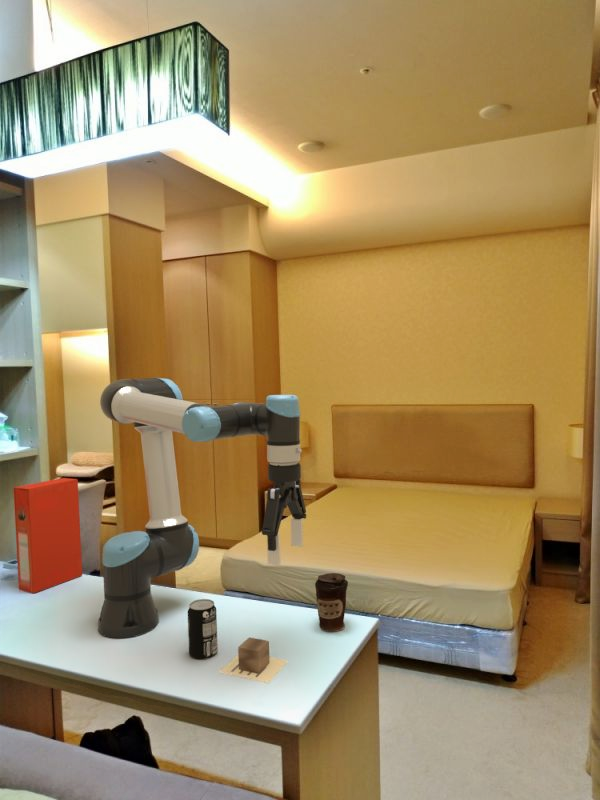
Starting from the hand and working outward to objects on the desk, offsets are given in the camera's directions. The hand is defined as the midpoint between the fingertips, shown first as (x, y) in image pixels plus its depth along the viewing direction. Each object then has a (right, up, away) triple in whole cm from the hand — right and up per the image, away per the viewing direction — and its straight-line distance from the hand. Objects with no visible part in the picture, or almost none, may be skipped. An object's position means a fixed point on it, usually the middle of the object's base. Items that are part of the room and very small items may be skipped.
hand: (286, 554), depth 131 cm
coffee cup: (+11, -23, +15) cm, 29 cm away
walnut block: (-7, -23, -4) cm, 25 cm away
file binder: (-76, -23, +51) cm, 95 cm away
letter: (-7, -24, -4) cm, 25 cm away
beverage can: (-19, -24, +2) cm, 31 cm away
